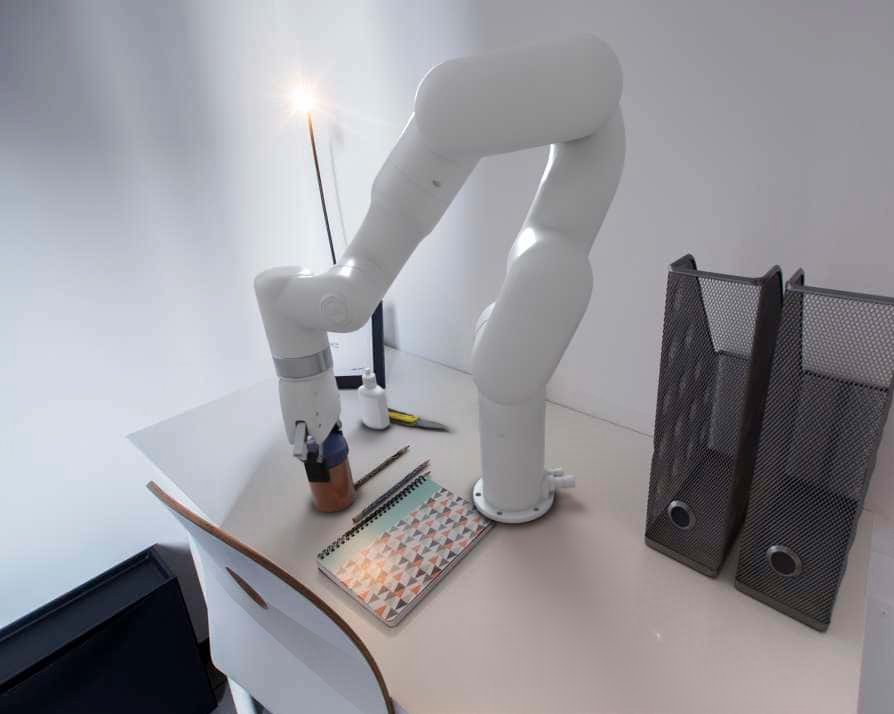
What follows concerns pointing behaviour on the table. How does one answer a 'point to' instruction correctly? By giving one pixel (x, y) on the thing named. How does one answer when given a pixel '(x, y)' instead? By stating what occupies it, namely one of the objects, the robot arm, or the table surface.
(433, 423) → the utility knife
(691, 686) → the table surface
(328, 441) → the jar lid
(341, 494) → the jar
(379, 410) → the eye dropper bottle
